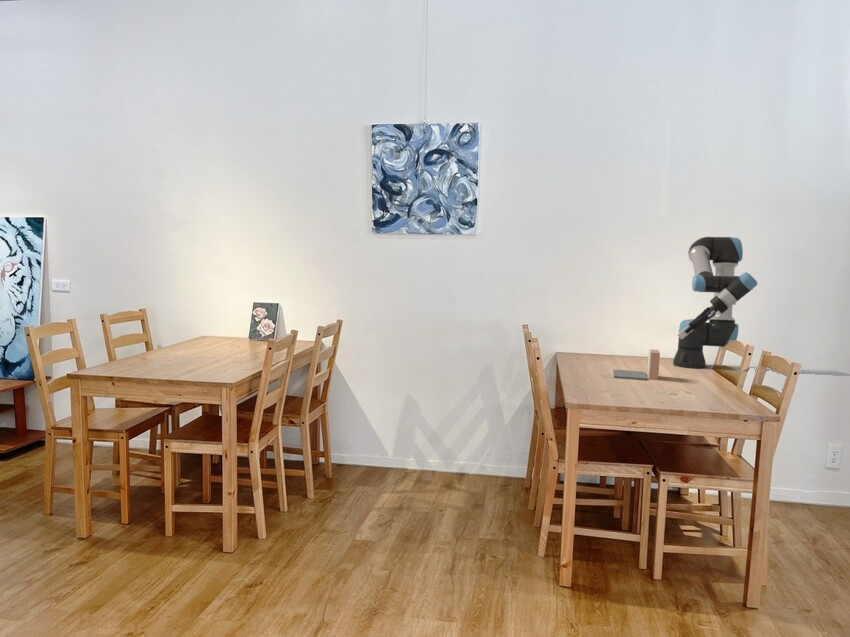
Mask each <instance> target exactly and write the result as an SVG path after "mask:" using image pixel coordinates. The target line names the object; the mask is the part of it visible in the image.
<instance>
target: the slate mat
mask: <svg viewBox="0 0 850 637" xmlns="http://www.w3.org/2000/svg"><path fill="white" fill-rule="evenodd" d="M613 378H615V379H624V380H625V379H626V380H637V381H638V380H639V381H647V378H648V377H647V375H646V372H645V371H641V370H640V371H638V370H637V371H636V370H627V369H626V370H625V369H623V370H622V369H613Z"/></svg>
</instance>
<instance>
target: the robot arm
mask: <svg viewBox="0 0 850 637" xmlns="http://www.w3.org/2000/svg"><path fill="white" fill-rule="evenodd" d="M743 254H744V252H743V244H742V240H741V239H740V238H738V237H733V236H732V237H731V236H703V237H701V238H699V239H696V240H695V241H693V243H692V244H691V245H690V247H689V249H688V258H689V260H690V261H691V262H692V266H693V271H694V275H693V276H692V282H691V289H692V291H694V292H698V293H714V294H713V298H711V299H710V301H709V303H711V306H710V307H709V306H707V307H706V308H705V309H704V310H703V311H702V312H701V313H699V315H697V316H696V317H695V318H691V319H683V320H681V321H680V322H679V329H678V333H677V334H676V336H678V340H677V341H678V345H677V350H676V353H675V355H674V358H673V360H672V361H673V362H672V364H673V365H674V366H676V367H680V368H681V367H682V368H690V369H703V368H706V366H707V365H706V364H707V363H706V359H705V355H704V351H703V350H704V347H705V346H706V347H719V348H726V347H725V346H726V345H727V344H728V343H729V341H730V340H736V341H737V339H738V335H739V324H737V323H736V319H735V318H734V317H733V305H734V306H736V305H737V302H738V301H740V300H741V299H742V298H743V297H745V296H746V295H747V294H748V293H750V292H751V291H753V290H754V289H755V288H756V287H757V286H758V281H757V280H756V279H755V277H754V276H752V275H751V274H750V273H748V272H747V271H746V272H743V273H742V274H740V275H739V276H738V275H735V268H736V267H738V265H739V262H742V260H743ZM711 261H712V264H711ZM711 265H712V266H713V267H714V268H715V271H714V272H713V269H712V266H711ZM714 273H715V274H714ZM707 321H709V322H707Z"/></svg>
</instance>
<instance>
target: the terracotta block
mask: <svg viewBox="0 0 850 637" xmlns="http://www.w3.org/2000/svg"><path fill="white" fill-rule="evenodd" d="M660 357H661V352H660V350H659V349H651V348H649V350H648V361H647V375H646V376H647V378H648V380H655V381H656V380H657V381H658V380H659V370H660V359H661V358H660Z"/></svg>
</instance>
